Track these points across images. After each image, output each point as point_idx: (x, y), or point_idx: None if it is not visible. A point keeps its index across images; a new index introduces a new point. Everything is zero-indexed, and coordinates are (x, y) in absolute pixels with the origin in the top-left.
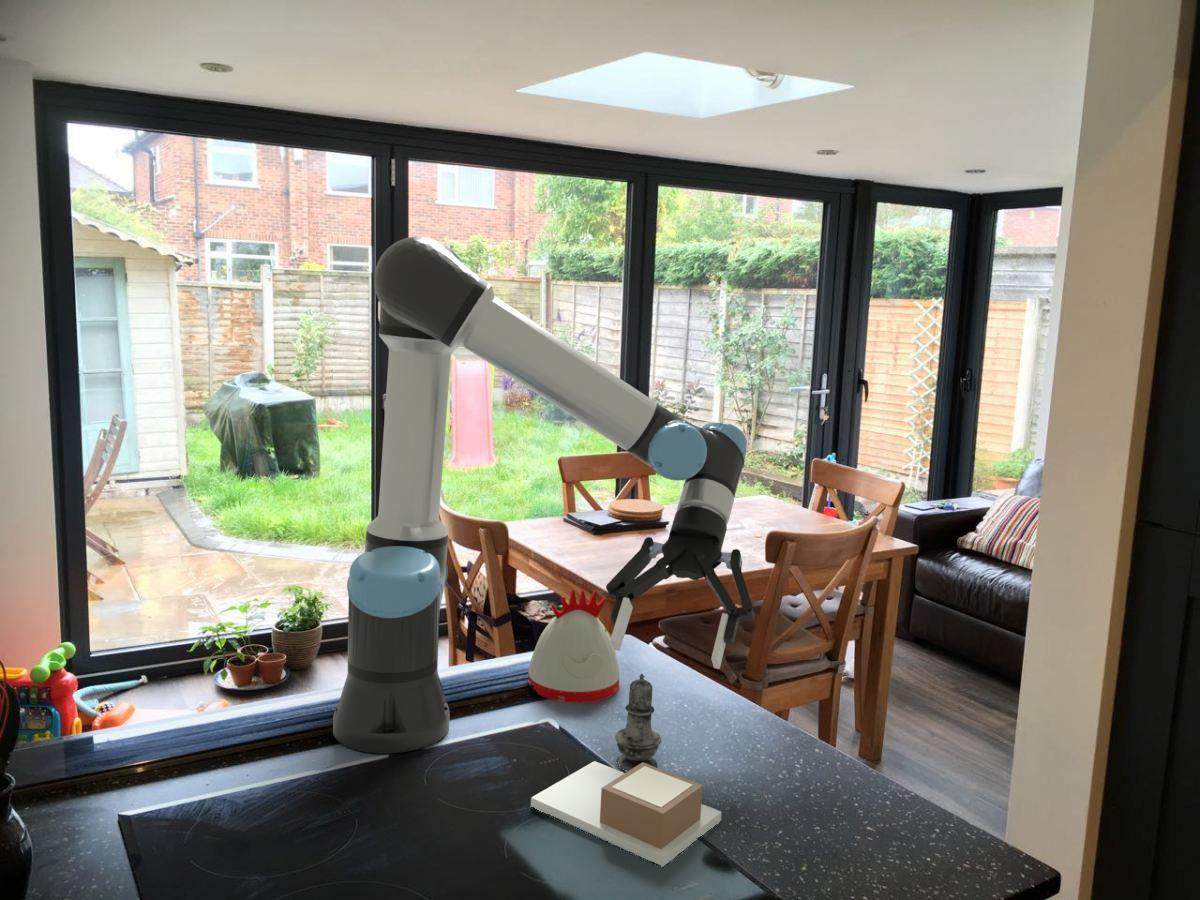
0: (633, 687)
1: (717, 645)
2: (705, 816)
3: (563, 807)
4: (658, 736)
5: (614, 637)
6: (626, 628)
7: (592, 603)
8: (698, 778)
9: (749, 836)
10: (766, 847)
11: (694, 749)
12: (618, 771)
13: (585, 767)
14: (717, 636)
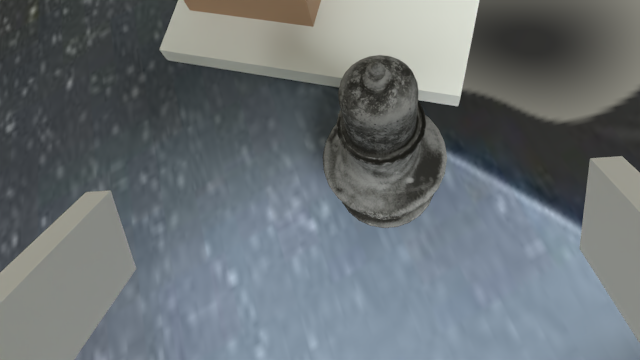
0: (393, 57)
1: (62, 226)
2: (182, 21)
3: None
4: (336, 182)
5: (611, 167)
6: (633, 332)
7: None
8: (240, 188)
9: (116, 45)
10: (88, 30)
11: (285, 324)
12: None
13: (463, 61)
14: (45, 254)
